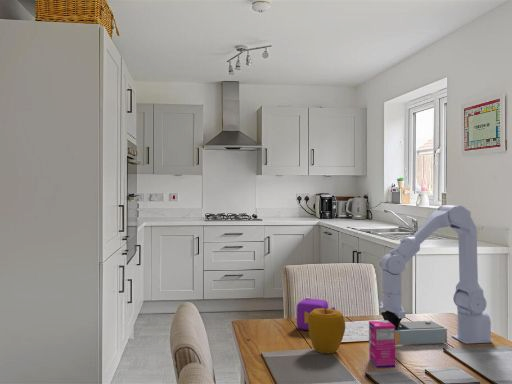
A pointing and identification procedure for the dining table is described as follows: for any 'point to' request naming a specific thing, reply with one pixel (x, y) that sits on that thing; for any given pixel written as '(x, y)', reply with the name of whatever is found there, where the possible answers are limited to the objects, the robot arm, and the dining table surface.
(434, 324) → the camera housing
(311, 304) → the toy camera
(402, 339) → the side door
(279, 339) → the dining table surface
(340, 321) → the apple
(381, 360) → the supplement box
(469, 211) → the robot arm
